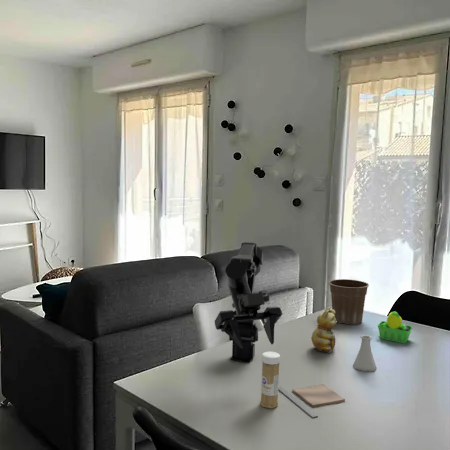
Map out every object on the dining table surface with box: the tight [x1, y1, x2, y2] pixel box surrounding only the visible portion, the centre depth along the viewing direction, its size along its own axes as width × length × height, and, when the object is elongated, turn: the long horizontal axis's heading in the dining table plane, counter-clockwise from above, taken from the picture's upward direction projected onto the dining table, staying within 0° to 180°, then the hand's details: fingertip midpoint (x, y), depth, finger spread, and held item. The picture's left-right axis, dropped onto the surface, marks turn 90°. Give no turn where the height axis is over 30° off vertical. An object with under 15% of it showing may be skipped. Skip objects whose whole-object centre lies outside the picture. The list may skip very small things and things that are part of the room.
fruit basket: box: [377, 311, 413, 344], centre depth 179 cm, size 11×9×11 cm
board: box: [292, 384, 346, 408], centre depth 129 cm, size 10×10×1 cm
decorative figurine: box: [310, 306, 337, 354], centre depth 165 cm, size 10×8×15 cm
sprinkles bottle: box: [260, 351, 281, 409], centre depth 123 cm, size 5×5×13 cm
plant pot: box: [328, 278, 370, 325], centre depth 202 cm, size 16×16×16 cm
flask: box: [352, 334, 377, 372], centre depth 150 cm, size 7×7×10 cm
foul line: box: [278, 386, 319, 419], centre depth 126 cm, size 18×2×1 cm, turn 23°
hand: (257, 345), depth 129 cm, fingers open, 9 cm apart
